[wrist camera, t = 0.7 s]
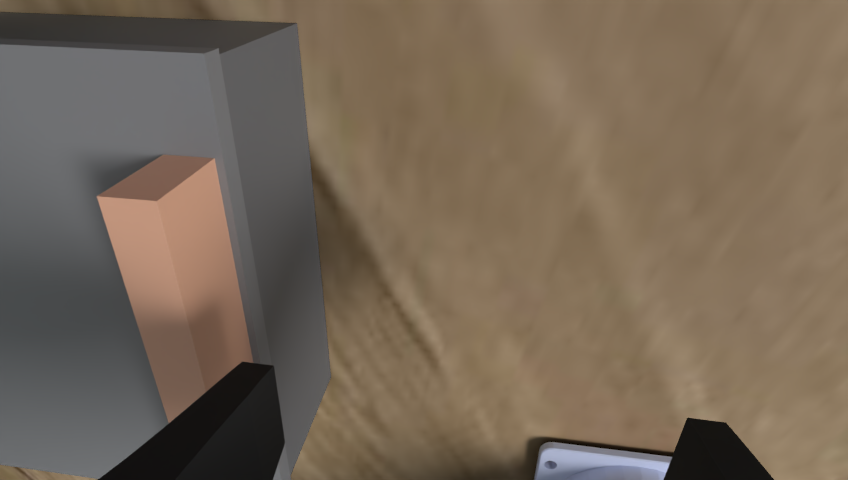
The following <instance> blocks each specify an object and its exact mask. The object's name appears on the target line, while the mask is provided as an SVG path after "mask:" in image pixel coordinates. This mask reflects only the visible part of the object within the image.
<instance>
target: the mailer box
mask: <svg viewBox="0 0 848 480" xmlns="http://www.w3.org/2000/svg"><path fill="white" fill-rule="evenodd" d="M0 39H21V40H43V41H66V42H89V43H112V44H134V45H157V46H180V47H202V48H219V54H220V60H221V66H222V72H223V78H224V84H225V90H226V96H227V102H228V107H229V113H230V119H231V125H232V131H233V137H234V143H235V149H236V155H237V161H238V167H239V173H240V179H241V185H242V191H243V197H244V203H245V209H246V215H247V221H248V227H249V233H250V239H251V245H252V251H253V256H254V262H255V268H256V274H257V280H258V286H259V292H260V298H261V304H262V310H263V316H264V322H265V328H266V334H267V340H268V346H269V352H270V358H271V364H272V365H273V366H274V369H275V376H276V383H277V390H278V397H279V404H280V411H281V417H282V424H283V431H284V438H285V447H286V453H287V459H288V465H289V471H290V476H291V473H292V471H293V468H294V466H295V463H296V461H297V459H298V456H299V454H300V451H301V449H302V446H303V444H304V441H305V439H306V437H307V434H308V432H309V429H310V427H311V424H312V422H313V419H314V417H315V415H316V412H317V410H318V407H319V405H320V402H321V400H322V397H323V395H324V393H325V390H326V388H327V385H328V383H329V380H330V378H331V372H330V362H329V351H328V341H327V331H326V320H325V310H324V299H323V289H322V279H321V268H320V258H319V247H318V237H317V226H316V216H315V206H314V195H313V185H312V174H311V164H310V154H309V143H308V133H307V122H306V112H305V101H304V91H303V81H302V70H301V60H300V49H299V39H298V28H297V23H275V22H248V21H222V20H195V19H169V18H142V17H116V16H89V15H63V14H36V13H10V12H0Z"/></svg>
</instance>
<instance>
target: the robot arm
mask: <svg viewBox="0 0 848 480" xmlns="http://www.w3.org/2000/svg"><path fill="white" fill-rule="evenodd" d="M284 445H285V438H284V431H283V424H282V417H281V411H280V404H279V397H278V390H277V383H276V376H275V369H274V366H273V365H265V364H258V363H250V362H241V363H240V364H239V365H237V366H236V367H235V368H234V369H232V370H231V371H230V372H229V373H228V374H226V375H225V376H224V377H223V378H222V379H220V380H219V381H218V382H217V383H216V384H215V385H213V386H212V387H211V388H210V389H209V390H208V391H206V392H205V393H204V394H203V395H202V396H201V397H199V398H198V399H197V400H196V401H195V402H194V403H192V404H191V405H190V406H189V407H188V408H186V409H185V410H184V411H183V412H182V413H181V414H179V415H178V416H177V417H176V418H175V419H173V420H172V421H171V422H170V423H169V424H167V425H166V426H165V427H164V428H163V429H161V430H160V431H159V432H158V433H156V434H155V435H154V436H153V437H152V438H150V439H149V440H148V441H147V442H145V443H144V444H143V445H142V446H141V447H139V448H138V449H137V450H136V451H134V452H133V453H132V454H131V455H129V456H128V457H127V458H126V459H124V460H123V461H122V462H120V463H119V464H118V465H116V466H115V467H114V468H113V469H111V470H110V471H109V472H107V473H106V474H105V475H103V476H102V477H101V478H99V479H98V480H273V478H274V475H275V472H276V469H277V466H278V463H279V460H280V457H281V454H282V451H283V448H284ZM534 480H774V479H773V478H772V477H771V475H770V474H769V473H768V472H767V471H766V470H765V468H764V467H763V466H762V465H761V464H760V462H759V461H758V460H757V459H756V458H755V456H754V455H753V454H752V453H751V452H750V450H749V449H748V448H747V447H746V446H745V444H744V443H743V442H742V441H741V440H740V439H739V437H738V436H737V435H736V434H735V433H734V432H733V430H732V429H731V428H730V427H729V426H728V425H727V423H724V422H716V421H708V420H700V419H693V418H687V420H686V423H685V425H684V428H683V430H682V433H681V436H680V438H679V441H678V443H677V446H676V449H675V451H674V454H673V456H672V457H670V456H661V455H653V454H645V453H637V452H629V451H621V450H613V449H605V448H597V447H589V446H581V445H573V444H565V443H557V442H547V443H544V444H543V445H541V447H540V449H539V455H538V460H537V466H536V471H535V477H534Z"/></svg>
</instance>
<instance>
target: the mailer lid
mask: <svg viewBox="0 0 848 480" xmlns="http://www.w3.org/2000/svg"><path fill="white" fill-rule="evenodd" d="M241 362H250V363H258V364H265V365H272V364H271V358H270V352H269V346H268V340H267V334H266V328H265V322H264V316H263V310H262V304H261V298H260V292H259V286H258V280H257V274H256V268H255V262H254V256H253V251H252V245H251V239H250V233H249V227H248V221H247V215H246V209H245V203H244V197H243V191H242V185H241V179H240V173H239V167H238V161H237V155H236V149H235V143H234V137H233V131H232V125H231V119H230V113H229V107H228V102H227V96H226V90H225V84H224V78H223V72H222V66H221V60H220V54H219V48H202V47H180V46H157V45H134V44H112V43H89V42H66V41H43V40H21V39H0V465H7V466H14V467H20V468H27V469H34V470H41V471H48V472H55V473H61V474H68V475H75V476H82V477H89V478H96V479H99V478H101V477H102V476H103V475H105V474H106V473H107V472H109V471H110V470H111V469H113V468H114V467H115V466H116V465H118V464H119V463H120V462H122V461H123V460H124V459H126V458H127V457H128V456H129V455H131V454H132V453H133V452H134V451H136V450H137V449H138V448H139V447H141V446H142V445H143V444H144V443H145V442H147V441H148V440H149V439H150V438H152V437H153V436H154V435H155V434H156V433H158V432H159V431H160V430H161V429H163V428H164V427H165V426H166V425H167V424H169V423H170V422H171V421H172V420H173V419H175V418H176V417H177V416H178V415H179V414H181V413H182V412H183V411H184V410H185V409H186V408H188V407H189V406H190V405H191V404H192V403H194V402H195V401H196V400H197V399H198V398H199V397H201V396H202V395H203V394H204V393H205V392H206V391H208V390H209V389H210V388H211V387H212V386H213V385H215V384H216V383H217V382H218V381H219V380H220V379H222V378H223V377H224V376H225V375H226V374H228V373H229V372H230V371H231V370H232V369H234V368H235V367H236V366H237V365H239V364H240V363H241ZM273 480H291V477H290V471H289V465H288V459H287V453H286V447H285V445H284V448H283V451H282V454H281V457H280V460H279V463H278V466H277V469H276V472H275V475H274V478H273Z"/></svg>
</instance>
